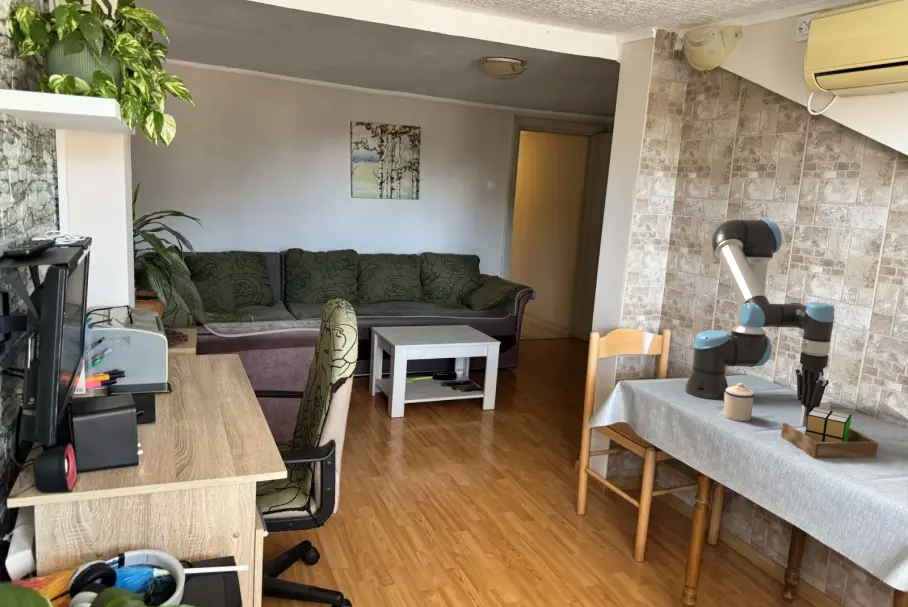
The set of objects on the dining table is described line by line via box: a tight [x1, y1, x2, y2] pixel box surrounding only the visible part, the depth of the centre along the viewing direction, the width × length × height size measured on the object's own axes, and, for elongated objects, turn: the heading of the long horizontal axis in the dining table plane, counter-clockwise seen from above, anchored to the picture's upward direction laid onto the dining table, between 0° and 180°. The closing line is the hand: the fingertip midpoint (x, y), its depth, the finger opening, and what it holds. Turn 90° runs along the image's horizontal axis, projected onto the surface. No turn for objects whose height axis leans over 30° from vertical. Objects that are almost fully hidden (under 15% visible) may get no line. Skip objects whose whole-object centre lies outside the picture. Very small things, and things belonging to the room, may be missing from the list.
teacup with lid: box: [722, 382, 756, 422], centre depth 216 cm, size 12×9×12 cm
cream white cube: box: [800, 398, 831, 415], centre depth 218 cm, size 6×6×6 cm
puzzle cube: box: [804, 407, 852, 442], centre depth 192 cm, size 10×10×10 cm
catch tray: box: [780, 422, 879, 459], centre depth 191 cm, size 16×19×4 cm
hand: (805, 425), depth 202 cm, fingers closed
